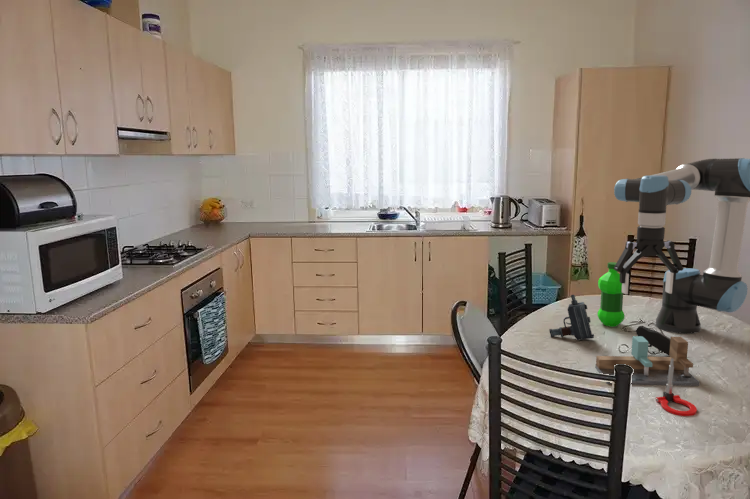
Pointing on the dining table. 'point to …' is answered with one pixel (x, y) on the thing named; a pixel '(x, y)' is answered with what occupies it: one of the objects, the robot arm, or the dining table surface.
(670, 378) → the tow hook
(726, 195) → the robot arm
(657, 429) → the dining table surface
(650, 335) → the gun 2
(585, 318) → the gun
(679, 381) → the bolt plate
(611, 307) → the plastic bottle
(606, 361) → the wooden clamp
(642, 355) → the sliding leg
